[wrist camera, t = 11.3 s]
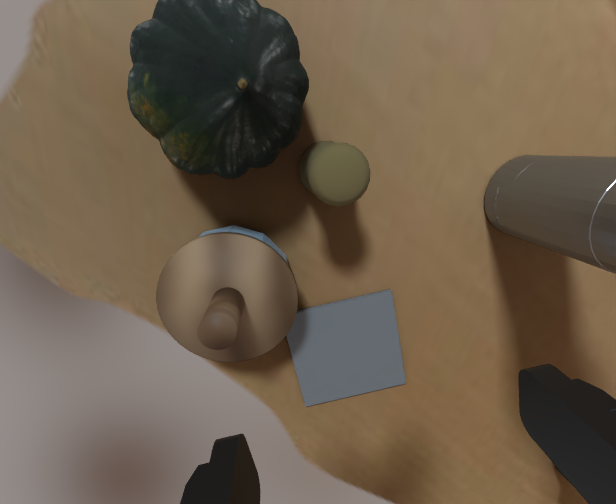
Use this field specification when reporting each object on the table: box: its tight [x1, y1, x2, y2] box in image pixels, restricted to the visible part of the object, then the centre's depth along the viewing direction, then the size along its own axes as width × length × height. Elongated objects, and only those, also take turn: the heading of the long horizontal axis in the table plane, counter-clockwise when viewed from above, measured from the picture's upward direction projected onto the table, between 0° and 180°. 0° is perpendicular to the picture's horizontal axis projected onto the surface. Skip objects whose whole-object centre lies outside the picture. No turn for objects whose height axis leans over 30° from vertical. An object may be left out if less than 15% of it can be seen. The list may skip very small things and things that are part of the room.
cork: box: [299, 141, 370, 206], centre depth 32 cm, size 6×6×11 cm
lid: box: [156, 232, 298, 362], centre depth 31 cm, size 14×14×7 cm
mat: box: [286, 289, 406, 407], centre depth 43 cm, size 14×14×1 cm
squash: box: [127, 0, 309, 179], centre depth 28 cm, size 14×15×15 cm
